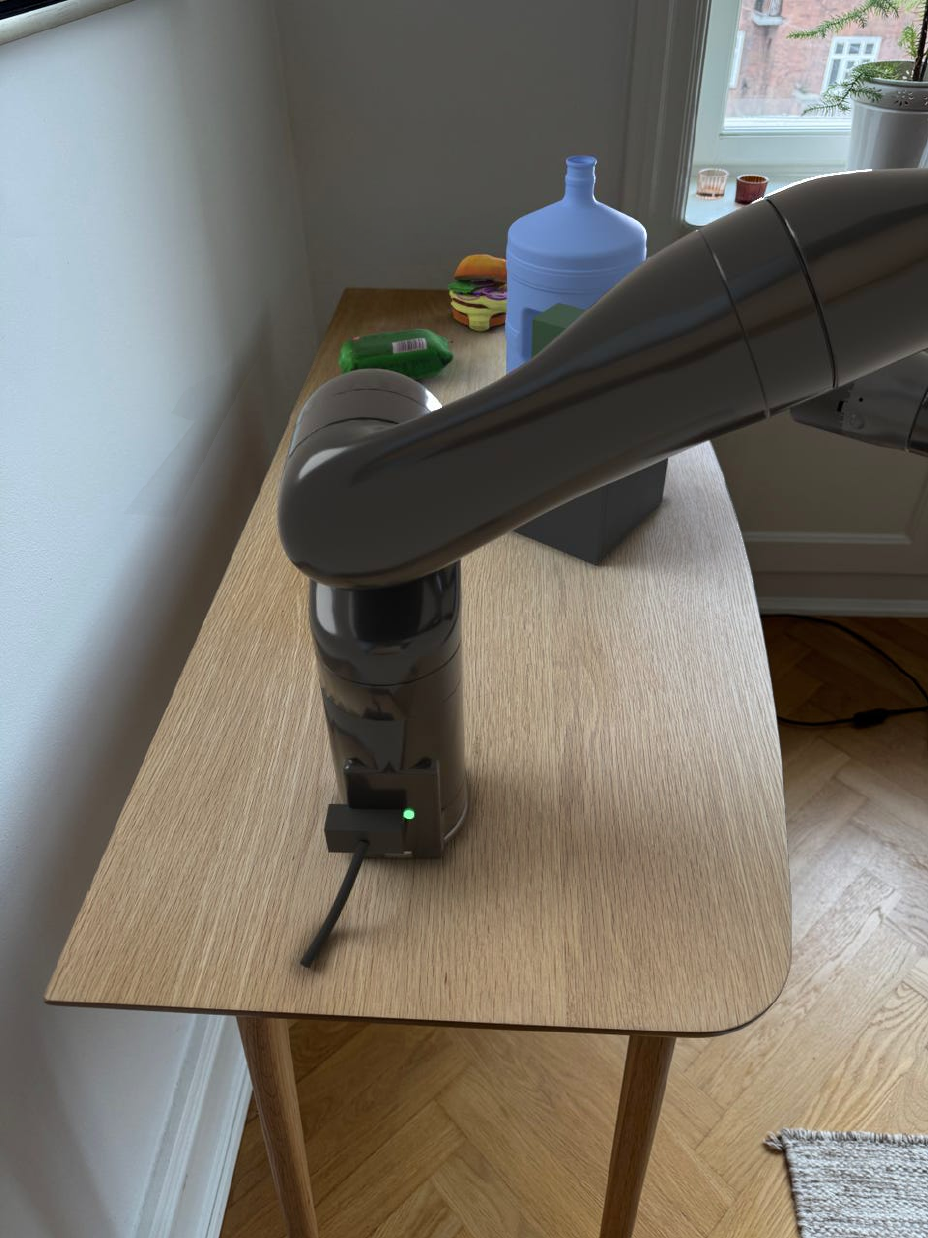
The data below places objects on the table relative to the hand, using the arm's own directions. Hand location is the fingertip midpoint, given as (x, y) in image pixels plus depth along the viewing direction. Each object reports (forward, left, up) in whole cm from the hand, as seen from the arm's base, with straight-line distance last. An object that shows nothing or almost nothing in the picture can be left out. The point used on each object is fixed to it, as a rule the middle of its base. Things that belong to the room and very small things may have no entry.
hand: (677, 338), depth 78 cm
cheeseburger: (+55, +18, -22) cm, 62 cm away
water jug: (+29, +7, -22) cm, 37 cm away
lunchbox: (+6, +9, -21) cm, 24 cm away
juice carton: (+6, +9, -11) cm, 15 cm away
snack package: (+36, +29, -22) cm, 51 cm away
